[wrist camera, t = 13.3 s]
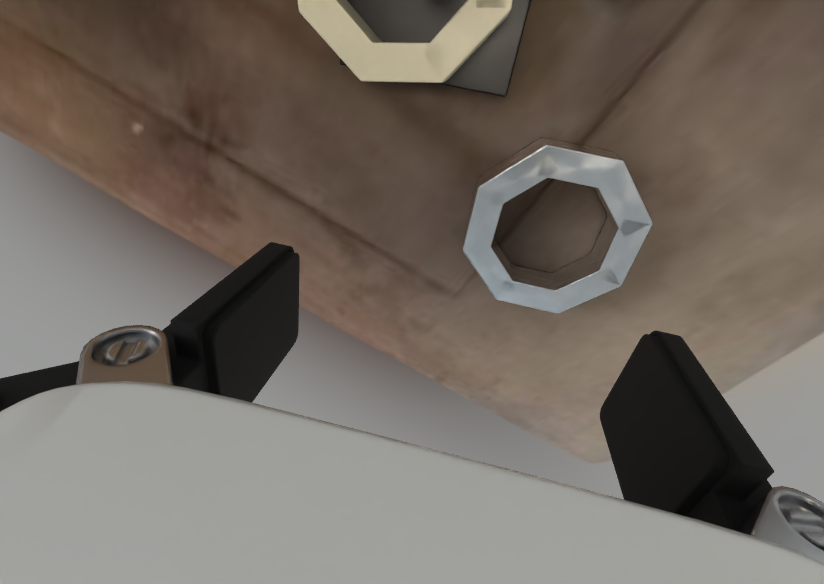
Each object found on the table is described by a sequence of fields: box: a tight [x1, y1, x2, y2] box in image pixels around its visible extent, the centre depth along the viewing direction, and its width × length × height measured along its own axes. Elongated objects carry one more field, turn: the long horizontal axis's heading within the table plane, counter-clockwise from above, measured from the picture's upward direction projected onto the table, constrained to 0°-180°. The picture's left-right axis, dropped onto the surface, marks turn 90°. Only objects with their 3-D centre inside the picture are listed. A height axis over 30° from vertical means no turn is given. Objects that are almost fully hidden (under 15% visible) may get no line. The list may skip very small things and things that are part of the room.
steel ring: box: [462, 137, 653, 314], centre depth 24 cm, size 10×10×2 cm
